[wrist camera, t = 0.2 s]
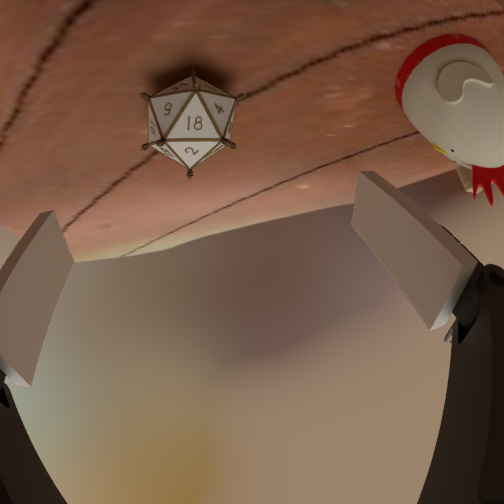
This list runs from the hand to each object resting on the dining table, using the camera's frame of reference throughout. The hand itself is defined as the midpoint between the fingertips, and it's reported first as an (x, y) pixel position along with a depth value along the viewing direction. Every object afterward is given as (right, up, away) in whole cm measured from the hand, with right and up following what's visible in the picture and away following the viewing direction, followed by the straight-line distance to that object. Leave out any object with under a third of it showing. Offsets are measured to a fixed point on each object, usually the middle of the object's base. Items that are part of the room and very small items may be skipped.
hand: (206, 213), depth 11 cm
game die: (-4, +13, +12) cm, 18 cm away
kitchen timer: (+23, +18, +11) cm, 31 cm away
